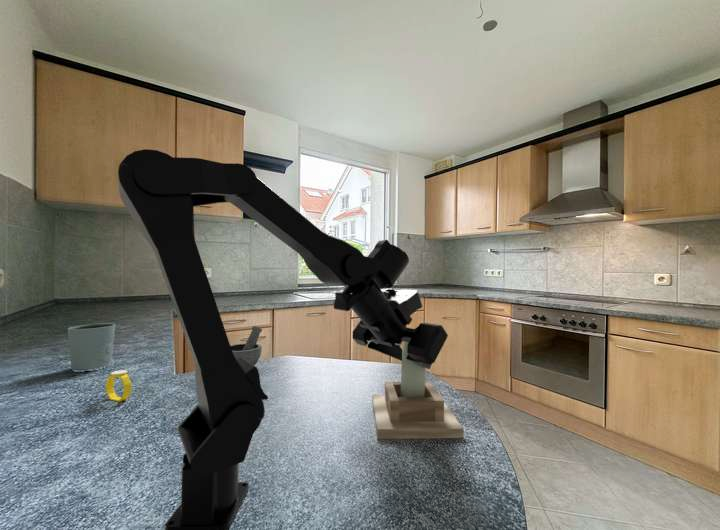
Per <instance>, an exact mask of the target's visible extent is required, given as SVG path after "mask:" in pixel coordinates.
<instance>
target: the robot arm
mask: <svg viewBox="0 0 720 530" xmlns="http://www.w3.org/2000/svg"><path fill="white" fill-rule="evenodd" d="M117 175H118V176H117V179H118V182H117V183H118V192H119V197H120V199H121V202H122V203H123V205H124V206H125V209H126V210H127V211H128V213H129V215H130V216H131V218H132V220H133V222H134V224H135V225H136V226H137V228H138V229H139V231H140V232H141V233H142V235H143V237H144V238H145V239H146V241H147V243H149V246H150V247H151V248H152V250H153V252H154V255H155V257H156V260H157V263H158V266H159V268H160V271H161V274H162V276H163V279H164V282H165V285H166V287H167V291H168V293H169V296H170V298H171V301H172V302H171V303H172V305H173V307H174V309H175V312H176V316H177V318H178V320H179V323H180V326H181V329H182V332H183V335H184V337H185V340H186V343H187V345H188V349H189V351H190V354H191V358H192V359H193V362H194V369H195V372H194V373H195V390H196V397H197V405H196V407H194V409H193V410H191V412H190V413H189V414H188V415H187V416H186V417H185V418H184V420H183V421H182V422H181V423H180V424H179V425H178V427H177V432H178V434H179V438H180V440H181V443H182V446H183V449H184V451H185V453H184V455H183V457H182V468H181V491H180V492H181V493H180V494H181V495H180V496H181V497H180V499H181V501H180V504H179V506H178V507H177V508H176V510H174V512H173V514H172V515H171V516H170V517H169V518H168V520H167V521H166V523H165V530H227V529H228V528H229V527H230V526H231V523H232V522H233V520H234V517H235V516H236V514H237V512H238V510H239V508H240V506H241V503H242V502H243V500H244V498H245V496H246V494H247V492H248V490H249V488H250V485H249V482H247V481H245V482H244V481H242V482H241V481H239V469H240V468H239V464H241V463H243V462H244V461H245V460H246V456H247V453H248V451H249V447H250V444H251V441H252V439H253V436H254V433H255V432H256V431H257V430H258V428H259V427H260V425H261V423H262V420H263V419H264V418H265V413H266V410H265V404H264V401H263V400H268V399H269V396H268V395H267V394H266V393H265V391H264V390H263V388H262V385H261V378H260V373H259V368H258V367H257V366H256V365H253V364H251V363H250V362H248V361H247V360H245V359H244V358H242V357H240V358H238V359H237V360H236V358H235V357H234V355H233V352H232V349H231V344H230V341H229V338H228V335H227V332H226V330H225V329H226V328H225V326H224V323H223V320H222V317H221V314H220V310H219V308H218V305H217V302H216V299H215V295H214V293H213V290H212V287H211V284H210V281H209V278H208V275H207V272H206V269H205V266H204V264H203V260H202V258H201V255H200V251H199V249H198V245H197V242H196V239H195V216H194V214H195V211H194V208H195V207H200V206H207V205H208V206H209V205H214V204H215V205H216V204H225V203H229V204H232V205H233V206H235V207H236V208H237V209H239V210H240V211H241V212H242V213H244V214H246V215H247V216H248V217H249V218H250V219H251V220H253V221H255V222H256V223H257V224H258V225H260V226H261V227H263V228H264V229H265V230H267V231H268V232H269V233H271V234H272V235H273V236H275V237H276V238H277V239H278V240H280V241H281V242H283V243H284V244H285V245H286V246H288V247H289V248H291V249H292V250H293V251H295V252H296V253H297V254H298V255H299V256H300V257H301V259H303V261H304V263H305V265H306V267H307V268H308V269H309V270H310V271H311V273H312V274H313V275H314V276H315V277H316V278H317V279H318V280H319V281H320V282H322V283H323V284H326V285H328V286H345V287H344V289H343V290H342V291H341V292H335V293H334V296H335V299H334V302H333V309H334V310H338V311H344V312H349V311H351V310H352V311H353V312H354V313H355V315H356V316H357V317H358V318H359V322H358V324H357V325H356V326H355V328H354V329H353V331H352V339H353V341H354V342H355V343H356V344H357V345H359V346H363V347H367V348H368V349H369V350H372V351H376V352H378V353H380V354H383V355H386V356H389V357H391V358H392V359H393V358H394V359H396V360H399V361H401V362H402V347H401V345H402V344H403V341H405V342H409V343H408V345H407V353H408V356H407V358H406V359H407V360H409V361H412V362H414V363H416V364H418V365H420V366H422V367H424V368H426V370H427V369H428V370H430V369H431V367H432V364H434V363H435V362H436V360H437V359H438V357H439V354H440V352H441V351H442V349H443V346H444V344H445V342H446V341H447V339H448V336H449V335H448V333H447V331H446V329H445V328H444V327H443V325H442V324H435V323H429V322H422V323H419V325H418V326H417V327H415V328H412V327H407V325H410V324H411V322H412V321H413V318H412V316H411V315H413V314H414V313H415V312H416V311H418V310H420V309H422V308H423V304H422V301H421V297H420V294H419V290H417V289H399V290H398V289H397V290H395V289H394V288H393V286H394V285H395V283H396V282H397V280H399V278H400V276H401V275H402V274H403V272H404V271H405V269H407V266H408V265H409V262H410V258H409V256H408V254H407V253H406V252H405V251H404V250H403V249H401V248H400V247H398V246H396V245H395V244H391V243H390V241H389V240H388V239H381V240H378V241H377V242H376V244H375V246H374V248H373V249H372V251H371V252H370V253H369V254H368V255H367V256H366V255H364V253H362V251H361V250H360V249H358V248H357V247H355V246H353V245H352V244H350V243H349V242H346V241H345V240H343V239H340V238H337V237H335V236H332V235H329V234H327V233H326V232H324V231H322V230H321V229H320V228H319V227H318V226H316V225H315V224H314V223H313V222H311V221H310V220H309V219H308V218H307V217H306V216H304V215H303V214H302V213H301V212H300V211H298V209H296V208H295V207H293V206H292V205H291V204H290V203H289V202H287V200H285V199H284V198H283V197H282V196H281V195H279V194H278V193H277V192H276V191H274V189H272V188H271V187H270V186H268V185H267V184H266V183H265V182H264V181H262V179H260V178H259V177H258V176H257V175H256V172H254V170H253V169H252V168H251V167H250V166H248V165H246V164H243V163H237V162H236V163H230V162H229V163H228V162H226V163H225V162H224V163H223V162H218V161H213V160H210V159H204V158H198V157H177V156H176V157H173V156H171V155H170V154H168V153H165V152H163V151H159V150H157V149H147V148H144V149H140V150H135V151H133V152H130V153H129V154H128V155H126V156H125V157H124V158H123V160H122V161H121V162H120V164H118V172H117ZM382 289H383V290H382Z"/></svg>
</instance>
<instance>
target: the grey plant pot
mask: <svg viewBox="0 0 720 530" xmlns="http://www.w3.org/2000/svg"><path fill="white" fill-rule="evenodd" d="M115 330H116V323H112V322H111V323H110V322H103V323H102V322H101V323H89V324H82V325H76V326H71V327H68V328H67V335H68V343H69V344H68V347H69V348H68V349H69V357H70V359H69V360H70V370H71V369H72V370H88V369H95V368H100V367H104V366H106V365H109V364H110V363H112V364H113V353H114V352H113V351H114V341H115V333H116V331H115Z"/></svg>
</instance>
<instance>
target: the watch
mask: <svg viewBox="0 0 720 530" xmlns="http://www.w3.org/2000/svg"><path fill="white" fill-rule="evenodd" d="M128 372H129V371H128V370H127V369H120V370H115V371H112V372H111V373H110V375H109V376H108V378H107V380H106V382H105V391H106V396H107V397H108V399H109V400H110V401H114V402H118V403H120V402H122V401H127V399H128V398H129V397H130V396H131V392H132V381H131V378H130V377H129V375H128ZM116 378H119V379H120V380H121V383H122V384H123V393H122V396H118V394H117V393H116V392H115V388H114V384H115V383H114V382H115V379H116Z"/></svg>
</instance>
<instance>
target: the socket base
mask: <svg viewBox="0 0 720 530" xmlns="http://www.w3.org/2000/svg"><path fill="white" fill-rule="evenodd" d="M400 394H401V381H384V394H372V396H371V398H372V399H371V400H372V401H371V402H372V403H371V404H372V410H373V416H374V423H375V431H376V432H375V433H376V437H377V439H378V440H383V439H384V440H385V439H389V440H390V439H392V440H393V439H401V440H402V439H403V440H404V439H464V427H463V426H462V425H461V424H460V422H459V421H458V420H457V418H456V417H455V415H454V414H453V412H452V411H451V409H450V408H449V406H448V405H447V404H446V402H445V400H444V399H443V397H442V396H441V395H440V393H439V392H438V390H437V388H435V386H434V385H433V384H432V382H431V381H425V397H400Z"/></svg>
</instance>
